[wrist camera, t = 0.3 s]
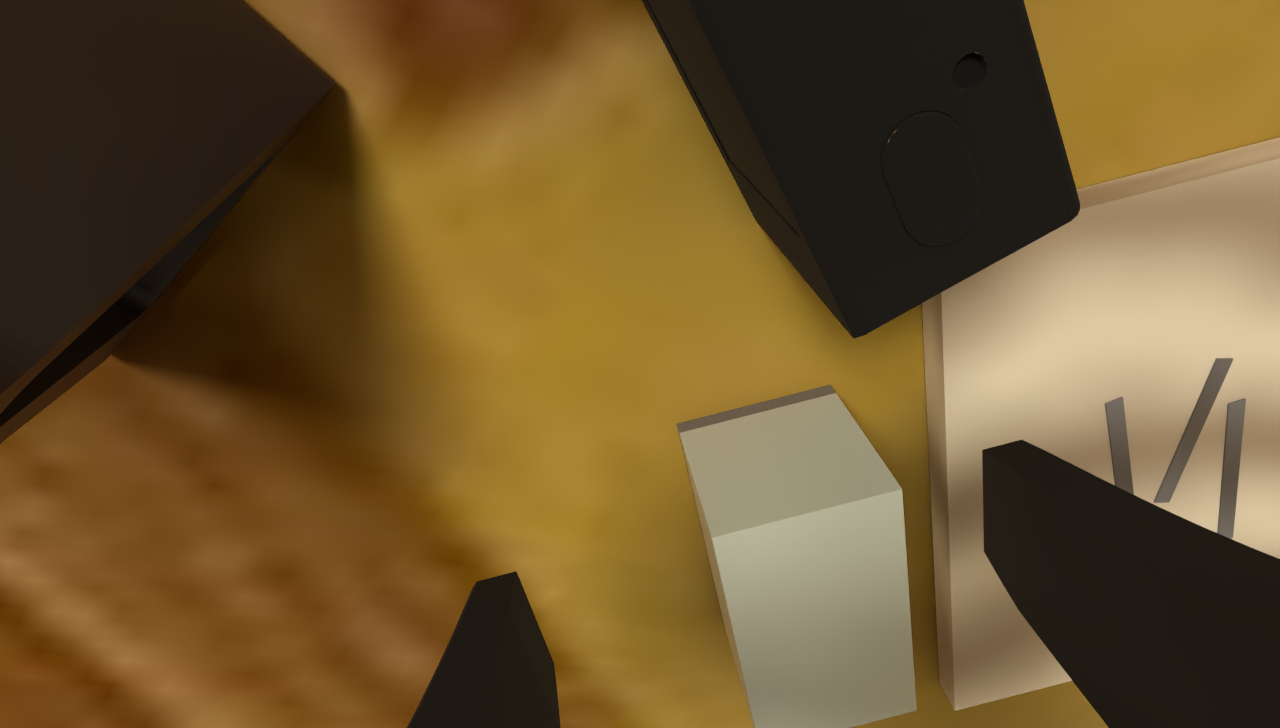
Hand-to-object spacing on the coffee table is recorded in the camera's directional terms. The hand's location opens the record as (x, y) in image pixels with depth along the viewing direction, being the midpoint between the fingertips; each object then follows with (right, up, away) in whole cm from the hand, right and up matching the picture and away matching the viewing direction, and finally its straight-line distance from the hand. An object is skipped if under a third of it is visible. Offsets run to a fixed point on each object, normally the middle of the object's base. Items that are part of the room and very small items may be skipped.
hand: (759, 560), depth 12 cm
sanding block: (+2, -2, +12) cm, 13 cm away
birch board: (+14, +1, +13) cm, 19 cm away
